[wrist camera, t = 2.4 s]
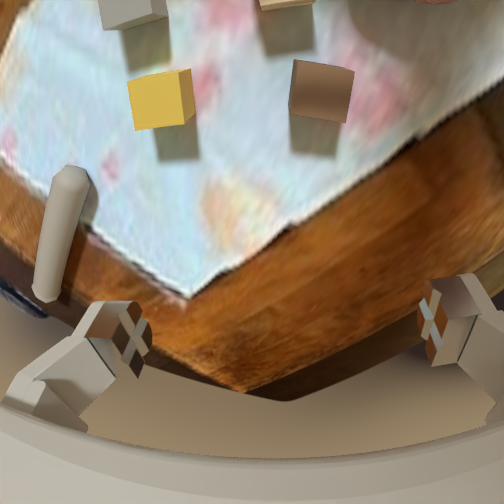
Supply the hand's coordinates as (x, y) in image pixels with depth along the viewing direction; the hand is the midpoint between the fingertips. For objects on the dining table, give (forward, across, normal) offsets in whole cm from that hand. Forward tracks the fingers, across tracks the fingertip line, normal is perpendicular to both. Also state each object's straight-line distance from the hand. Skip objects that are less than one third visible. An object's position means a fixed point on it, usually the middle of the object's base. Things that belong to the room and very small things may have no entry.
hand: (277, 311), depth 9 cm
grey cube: (+26, +12, -16) cm, 33 cm away
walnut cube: (+27, -4, -4) cm, 28 cm away
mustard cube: (+27, +11, -5) cm, 29 cm away
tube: (+27, +33, +9) cm, 44 cm away
